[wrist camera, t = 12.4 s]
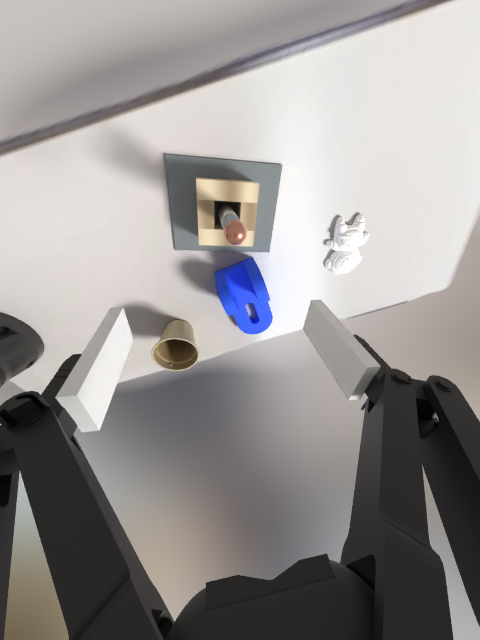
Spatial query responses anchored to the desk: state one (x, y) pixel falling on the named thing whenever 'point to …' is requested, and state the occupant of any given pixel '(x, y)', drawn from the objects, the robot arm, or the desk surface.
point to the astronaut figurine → (346, 245)
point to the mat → (185, 201)
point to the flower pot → (176, 347)
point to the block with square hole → (225, 191)
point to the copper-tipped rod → (231, 225)
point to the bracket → (244, 295)
